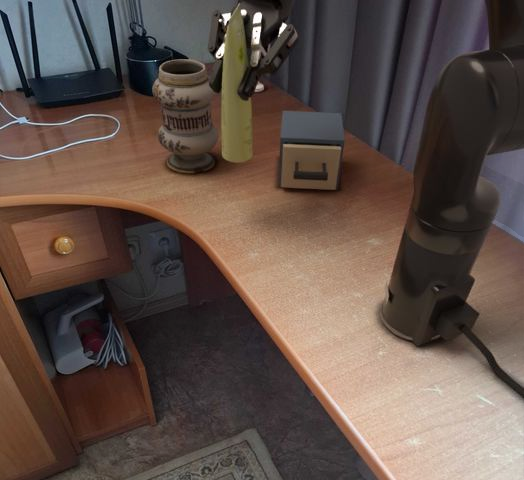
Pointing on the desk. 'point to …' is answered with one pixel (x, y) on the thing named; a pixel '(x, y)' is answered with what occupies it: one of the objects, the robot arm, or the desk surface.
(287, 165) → the drawer
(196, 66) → the apothecary jar
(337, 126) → the mini filing cabinet
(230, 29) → the tube
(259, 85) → the chess piece
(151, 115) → the desk surface
